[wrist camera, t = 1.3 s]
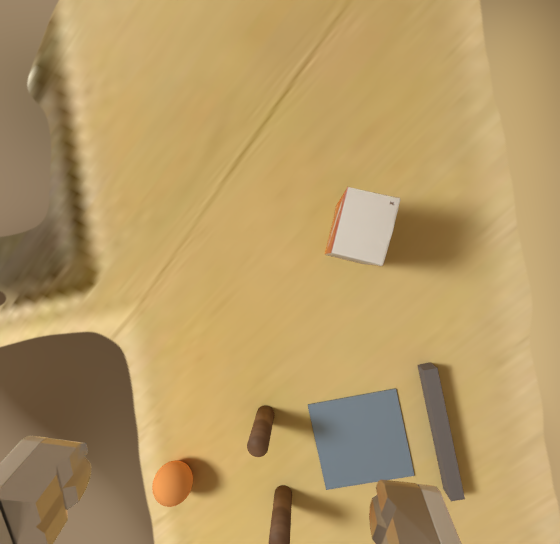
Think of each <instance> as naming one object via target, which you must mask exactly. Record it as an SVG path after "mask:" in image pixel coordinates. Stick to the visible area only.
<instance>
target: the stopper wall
mask: <svg viewBox="0 0 560 544" xmlns="http://www.w3.org/2000/svg"><path fill="white" fill-rule="evenodd" d="M418 369H419V374H420V379H421V384H422V388H423V393H424V398H425V403H426V407H427V412H428V417H429V422H430V426H431V431H432V436H433V441H434V445H435V450H436V455H437V460H438V464H439V469H440V474H441V479H442V483H443V488H444V490H445V492H446V494H447V495H448V497H449V499H450V500H451V501H456V500H462V499H465V497H464V493H463V488H462V483H461V478H460V473H459V469H458V464H457V459H456V454H455V450H454V445H453V440H452V435H451V430H450V426H449V421H448V416H447V411H446V407H445V402H444V397H443V392H442V387H441V383H440V378H439V373H438V368H437V367H436V366H434V365H433V364H432V363H425V364H420V365H418Z"/></svg>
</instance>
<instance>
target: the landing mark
mask: <svg viewBox="0 0 560 544" xmlns="http://www.w3.org/2000/svg"><path fill="white" fill-rule="evenodd" d="M308 409H309V413H310V418H311V422H312V427H313V431H314V436H315V440H316V445H317V450H318V454H319V459H320V463H321V468H322V472H323V477H324V482H325V486H326V490H328V489H334V488H340V487H347V486H353V485H359V484H365V483H372V482H378V481H379V480H390V479H396V478H403V477H409V476H414V471H413V466H412V462H411V457H410V452H409V448H408V443H407V438H406V433H405V429H404V424H403V419H402V415H401V410H400V405H399V401H398V396H397V391H396V388H395V389H390V390H384V391H379V392H373V393H368V394H363V395H357V396H352V397H346V398H341V399H335V400H330V401H324V402H319V403H313V404H308Z"/></svg>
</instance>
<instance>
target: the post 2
mask: <svg viewBox="0 0 560 544" xmlns="http://www.w3.org/2000/svg"><path fill="white" fill-rule="evenodd" d="M291 504H292V492H291V490H290V488H289V487H287V486H279V487H277V488H276V490H275V495H274V503H273V511H272V520H271V528H270V536H269V544H290V525H291Z"/></svg>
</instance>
